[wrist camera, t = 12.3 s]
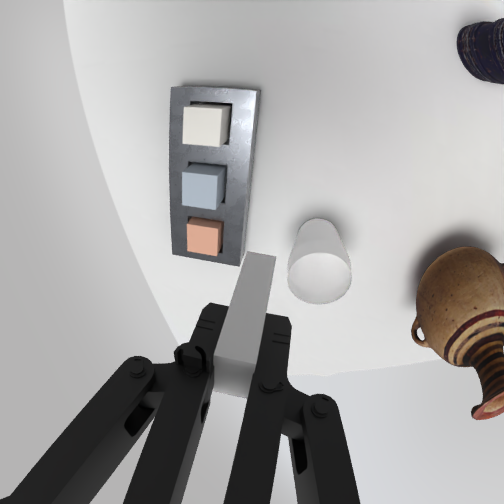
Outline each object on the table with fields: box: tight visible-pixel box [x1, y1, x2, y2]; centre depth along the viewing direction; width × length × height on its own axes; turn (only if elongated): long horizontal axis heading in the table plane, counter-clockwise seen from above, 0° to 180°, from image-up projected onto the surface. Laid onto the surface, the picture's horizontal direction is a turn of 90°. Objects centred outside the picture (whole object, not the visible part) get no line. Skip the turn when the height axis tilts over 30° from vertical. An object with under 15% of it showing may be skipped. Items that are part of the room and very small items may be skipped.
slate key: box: [182, 162, 227, 210], centre depth 42 cm, size 5×5×5 cm
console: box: [169, 86, 261, 267], centre depth 44 cm, size 28×12×4 cm, turn 174°
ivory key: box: [183, 104, 231, 147], centre depth 37 cm, size 5×5×5 cm
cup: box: [287, 218, 352, 304], centre depth 44 cm, size 9×9×12 cm
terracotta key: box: [187, 216, 224, 256], centre depth 48 cm, size 5×5×5 cm
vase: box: [411, 247, 504, 420], centre depth 35 cm, size 21×18×30 cm
